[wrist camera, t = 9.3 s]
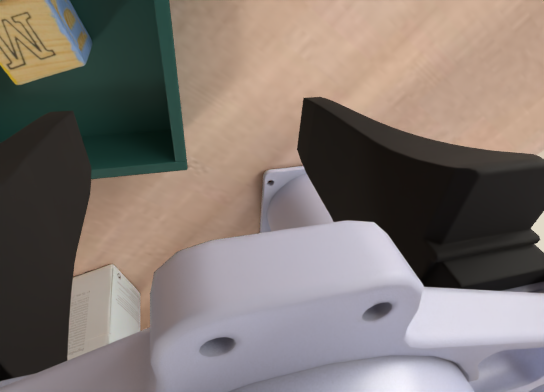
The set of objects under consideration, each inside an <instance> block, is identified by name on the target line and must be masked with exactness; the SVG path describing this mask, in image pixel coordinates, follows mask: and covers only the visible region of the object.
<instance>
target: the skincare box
mask: <svg viewBox="0 0 544 392" xmlns="http://www.w3.org/2000/svg"><path fill="white" fill-rule="evenodd" d="M139 331H140V293H139V291H138V290H137V289H136V288H135V287H134V286H133V285H132V284H131V283H130V282H129V280H128V279H127V278H126V277H125V276H124V275H123V274H122V273H121V272H120V271H119V270H118V269H117V267H116V266H114V265H113V264H111V265H108V266H105V267H102V268H99V269H96V270H93V271H90V272H88V273H85V274H82V275H79V276H76V277H73V281H72V291H71V304H70V317H69V335H68V355H67V361H68V360H70V359H73V358H75V357H78V356H80V355H82V354H85V353H87V352H90V351H92V350H95V349H97V348H100V347H102V346H105V345H107V344H110V343H112V342H115V341H117V340H120V339H122V338H125V337H127V336H130V335H132V334H134V333H137V332H139Z"/></svg>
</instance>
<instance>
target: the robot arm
mask: <svg viewBox="0 0 544 392" xmlns="http://www.w3.org/2000/svg"><path fill="white" fill-rule="evenodd" d="M297 150H298V153H299V156H300V159H301V162H302V164H303V166H299V167H289V168H279V169H270V170H267V171H265V173H264V174H263V187H262V204H261V220H260V233H257V234H250V235H243V236H237V237H230V238H223V239H216V240H210V241H207V242H204V243H201V244H198V245H195V246H192V247H189V248H186V249H183V250H180V251H178V252H176V253H175V254H174V255H173V256H172V257H171V258H170V259H169V260H167V261H166V262H165V263H164V264H163V265H162V266H161V267H160V268H158V269H157V270H156V271H155V272H154V276H153V281H152V287H151V292H150V327H149V328H147V329H144V330H142V331H139V332H137V333H134V334H132V335H130V336H127V337H125V338H122V339H120V340H117V341H115V342H112V343H110V344H107V345H105V346H102V347H100V348H97V349H95V350H92V351H90V352H87V353H85V354H82V355H80V356H78V357H75V358H73V359H70V360H68V361H67V355H68V335H69V317H70V304H71V291H72V281H73V271H74V262H75V257H76V251H77V247H78V243H79V239H80V235H81V230H82V226H83V222H84V218H85V214H86V209H87V205H88V201H89V196H90V187H91V165H90V162H89V159H88V156H87V152H86V149H85V146H84V143H83V140H82V137H81V134H80V131H79V128H78V125H77V122H76V118H75V115H74V112H73V111H58V112H49V113H47V114H45V115H43V116H41V117H39V118H38V119H36V120H35V121H33V122H32V123H30V124H29V125H27V126H26V127H24V128H23V129H21V130H20V131H18V132H17V133H15V134H14V135H12V136H11V137H9V138H8V139H6V140H5V141H3V142H2V143H0V392H544V253H543V252H542V251H541V250H540V249H539V248H538V247H537V246H536V245H535V243H538V241H539V240H540V238H539V236H538V235H537V234H536V233H535V232H534V231H532V230H531V229H530V228H531V227H532V226H533V224H534V223H535V222H536V220H537V219H538V218H539V216H540V215H541V214H542V212H543V211H544V159H542V158H541V157H539V156H537V155H533V154H524V153H512V152H501V151H491V150H483V149H477V148H470V147H464V146H458V145H453V144H448V143H444V142H440V141H435V140H431V139H427V138H423V137H420V136H416V135H413V134H410V133H407V132H404V131H401V130H398V129H395V128H392V127H390V126H387V125H385V124H382V123H380V122H377V121H375V120H373V119H370V118H368V117H366V116H364V115H362V114H359V113H357V112H355V111H353V110H351V109H349V108H347V107H344V106H342V105H340V104H338V103H336V102H333V101H331V100H328V99H325V98H322V97H313V98H304V100H303V107H302V115H301V123H300V131H299V139H298V146H297ZM270 180H272V182H270V183H267V182H268V181H270Z"/></svg>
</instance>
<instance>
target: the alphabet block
mask: <svg viewBox="0 0 544 392" xmlns="http://www.w3.org/2000/svg"><path fill="white" fill-rule="evenodd" d="M91 47H92V40H91V38H90V36H89V34H88V32H87V30H86V29H85V27H84V25H83V23H82V22H81V20H80V18H79V17H78V15H77V13H76V11H75V9H74V7H73V6H72V4H71V2H70V0H0V65H1V67H2V68H3V69H4V71H5V72H6V73H7V74H8V76H9V77H10V78H11V80H12V81H13V82H14V83H15V84H16V85H21V84H25V83H28V82H31V81H34V80H37V79H41V78H44V77H47V76H51V75H54V74H58V73H61V72H64V71H68V70H71V69H74V68H77V67H82V66H84V65H85V64H86V62H87V60H88V56H89V54H90V51H91Z"/></svg>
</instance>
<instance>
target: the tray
mask: <svg viewBox="0 0 544 392" xmlns="http://www.w3.org/2000/svg"><path fill="white" fill-rule="evenodd" d="M70 2H71V4H72V6H73V7H74V9H75V11H76V13H77V15H78V17H79V18H80V20H81V22H82V23H83V25H84V27H85V29H86V30H87V32H88V34H89V36H90V38H91V40H92V47H91V51H90V54H89V56H88V60H87V62H86V64H85V65H84V66H82V67H77V68H74V69H71V70H68V71H64V72H61V73H58V74H54V75H51V76H47V77H44V78H41V79H37V80H34V81H31V82H28V83H25V84H21V85H16V84H15V83H14V82H13V81H12V80H11V78H10V77H9V76H8V74H7V73H6V72H5V71H4V69H3V68H2V67H1V65H0V143H2V142H3V141H5V140H6V139H8V138H9V137H11V136H12V135H14V134H15V133H17V132H18V131H20V130H21V129H23V128H24V127H26V126H27V125H29V124H30V123H32V122H33V121H35V120H36V119H38V118H39V117H41V116H43V115H45V114H47V113H49V112H58V111H73V112H74V115H75V118H76V122H77V125H78V128H79V131H80V134H81V137H82V140H83V143H84V146H85V149H86V152H87V156H88V159H89V162H90V165H91V179H98V178H108V177H118V176H128V175H139V174H149V173H159V172H169V171H179V170H187V169H188V168H187V159H186V149H185V140H184V131H183V122H182V113H181V104H180V95H179V86H178V77H177V68H176V58H175V49H174V40H173V31H172V22H171V13H170V4H169V0H70Z"/></svg>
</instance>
